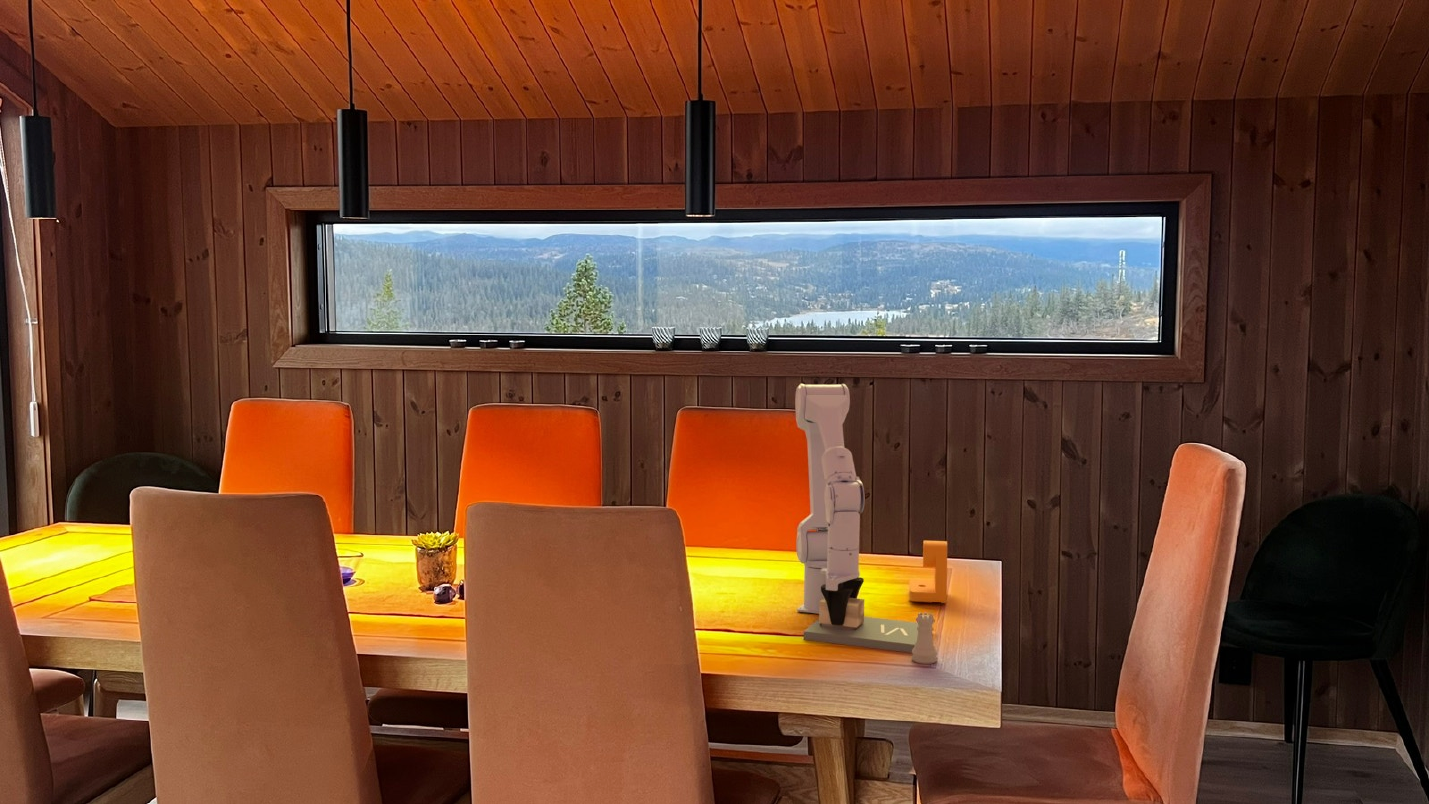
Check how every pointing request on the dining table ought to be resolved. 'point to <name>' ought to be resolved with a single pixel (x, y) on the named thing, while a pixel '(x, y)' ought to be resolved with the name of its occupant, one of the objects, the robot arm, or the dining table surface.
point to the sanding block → (852, 616)
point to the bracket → (938, 587)
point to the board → (869, 634)
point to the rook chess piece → (924, 641)
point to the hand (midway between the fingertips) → (841, 620)
